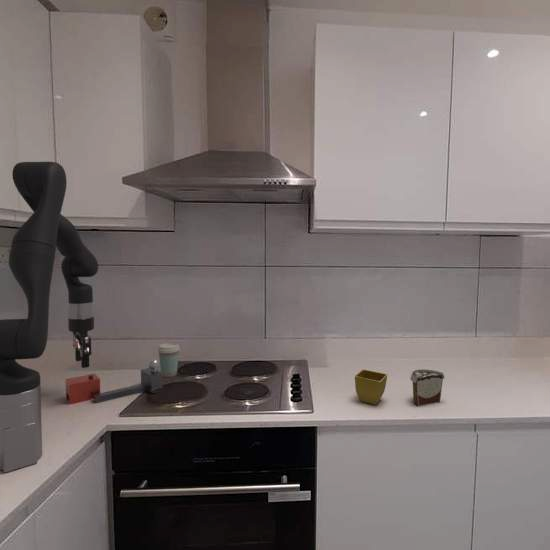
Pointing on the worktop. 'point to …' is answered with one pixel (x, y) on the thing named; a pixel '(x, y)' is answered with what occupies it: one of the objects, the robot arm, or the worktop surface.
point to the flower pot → (370, 386)
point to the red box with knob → (82, 388)
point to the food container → (426, 386)
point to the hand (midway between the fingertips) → (82, 363)
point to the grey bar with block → (148, 383)
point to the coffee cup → (168, 358)
